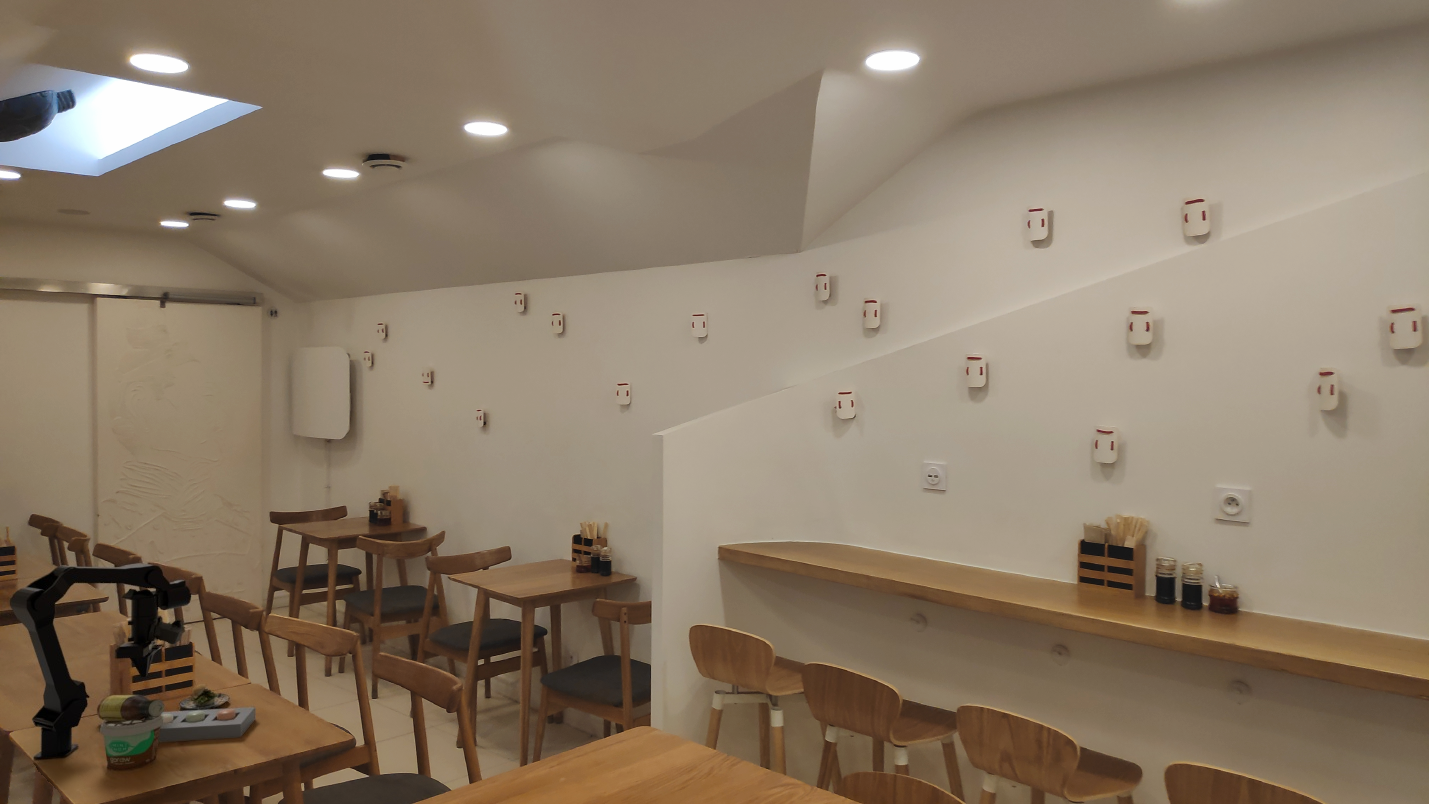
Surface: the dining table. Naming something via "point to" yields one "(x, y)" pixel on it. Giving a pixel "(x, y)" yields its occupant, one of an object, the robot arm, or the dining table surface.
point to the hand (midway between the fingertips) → (144, 676)
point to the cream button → (166, 718)
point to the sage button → (195, 716)
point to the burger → (202, 699)
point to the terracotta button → (226, 714)
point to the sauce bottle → (129, 708)
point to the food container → (131, 743)
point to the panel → (205, 725)
